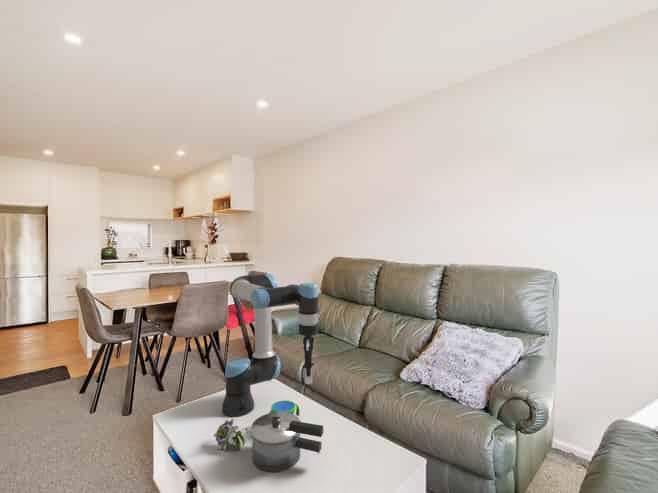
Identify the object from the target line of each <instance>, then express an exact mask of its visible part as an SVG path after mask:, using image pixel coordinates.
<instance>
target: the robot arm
mask: <svg viewBox="0 0 658 493" xmlns="http://www.w3.org/2000/svg"><path fill="white" fill-rule="evenodd" d="M277 282H278V281H277V279H276V278H275V276H274V275H273V274H270V273H259V274H251V275H250V274H248V275H241V276H238V277H236V278H234V279H233V280H232V281H231V282H230V284H229V290H228V291H229V294H230V296H232V298H233V299H236V300H239V301H243V300H245V301H247V302H250V303H251V306H252V307H253V317H254V319H253V320H254V346H255V348H254V349H255V351H254V352H253V354H252V359H250V358H249V357H238V358H235V359H232V360H230V361H229V362H227V364H226V365H225V373H224V376H225V396H224V399H223V402H222V405H221V410H222V414H224V415H225V416H228V417H232V418H233V417H241V416H246V415H248V414H250V413H251V412H252V411H254V408H255V400H254V398H253V395H252V392H251V386H253V385H256V384H260V383H264V382H270V381H272V380H276V378H278V376H279V375H280V372H281V360H280V358H279V356H278V355H277V354H276V352H275V351H274V350H273V326H272V323H273V322H272V308H275V307H282V306H283V307H284V306H290V305H291V306H292V305H296V306H298V334H299V335H301V336H304V337H303V340H302V344H303V351H304V365H303V366H302V368H303V369H304V384H305V385H312V384H313V366H314V365H315V363H314V362H313V349H314V342H315V341H314V337H313V336H315V335H318V333H319V324H318V322H319V318H320V317H321V316H320V314H319V288H318V287H319V286H318V284H316V283H314V282H303V283H299V284H293V283H291V284H288V285H286V286H278V283H277Z"/></svg>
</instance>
